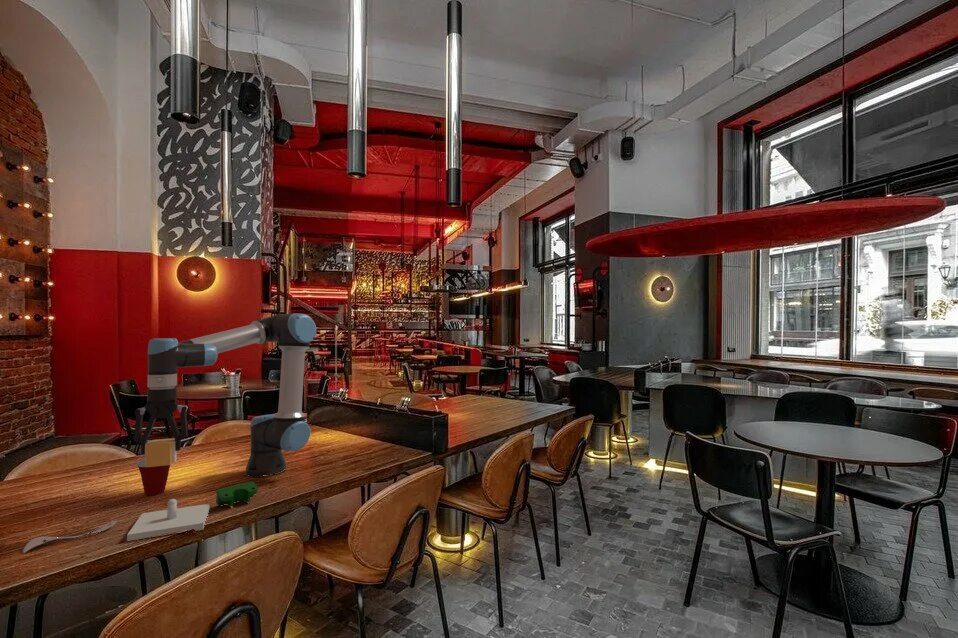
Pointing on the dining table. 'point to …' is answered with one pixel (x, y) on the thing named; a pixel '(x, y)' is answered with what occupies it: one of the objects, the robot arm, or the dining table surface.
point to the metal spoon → (42, 540)
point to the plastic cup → (153, 478)
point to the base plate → (169, 520)
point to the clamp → (236, 493)
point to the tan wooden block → (159, 452)
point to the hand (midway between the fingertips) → (160, 462)
